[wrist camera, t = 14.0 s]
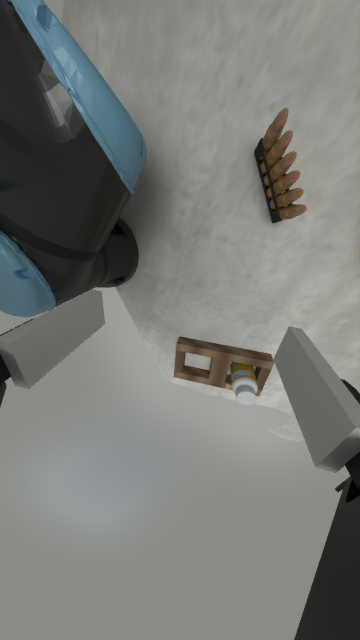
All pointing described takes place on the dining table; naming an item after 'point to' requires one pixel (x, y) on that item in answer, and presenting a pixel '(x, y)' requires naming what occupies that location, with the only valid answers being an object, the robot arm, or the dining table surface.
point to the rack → (220, 363)
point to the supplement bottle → (244, 383)
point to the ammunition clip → (278, 171)
